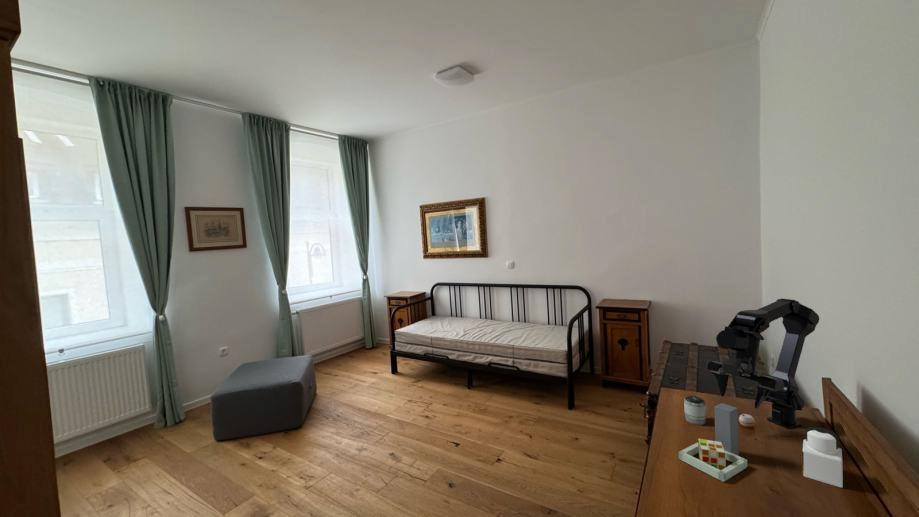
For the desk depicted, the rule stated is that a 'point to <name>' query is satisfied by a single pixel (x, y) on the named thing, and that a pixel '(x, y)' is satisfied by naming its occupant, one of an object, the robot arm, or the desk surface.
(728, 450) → the grey block with frame
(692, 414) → the camera lens
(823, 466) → the medicine bottle
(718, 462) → the rubik's cube
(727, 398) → the desk surface
